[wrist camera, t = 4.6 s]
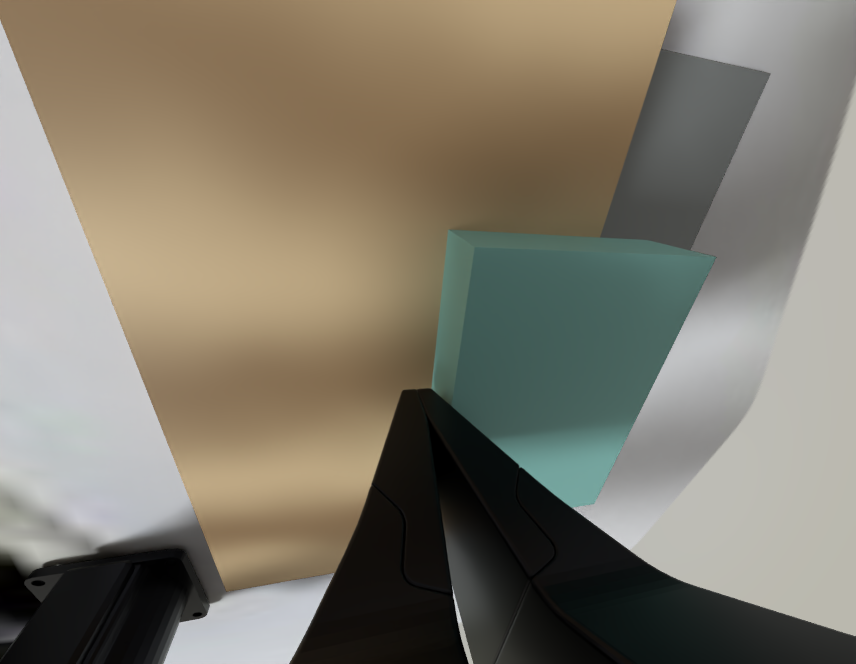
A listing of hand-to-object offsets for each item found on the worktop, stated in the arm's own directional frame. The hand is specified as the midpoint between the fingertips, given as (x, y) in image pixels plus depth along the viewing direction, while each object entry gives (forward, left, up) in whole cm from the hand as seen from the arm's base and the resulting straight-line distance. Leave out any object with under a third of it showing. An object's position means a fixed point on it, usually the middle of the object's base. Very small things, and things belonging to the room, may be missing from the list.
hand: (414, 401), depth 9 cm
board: (0, +1, -5) cm, 5 cm away
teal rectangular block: (0, -4, -1) cm, 4 cm away
